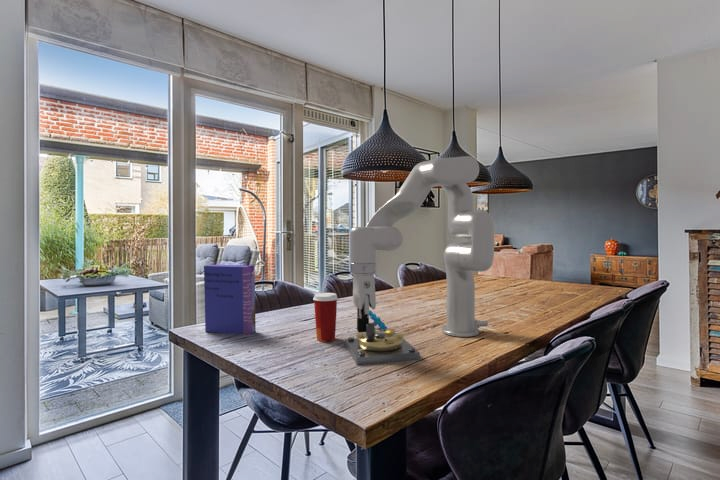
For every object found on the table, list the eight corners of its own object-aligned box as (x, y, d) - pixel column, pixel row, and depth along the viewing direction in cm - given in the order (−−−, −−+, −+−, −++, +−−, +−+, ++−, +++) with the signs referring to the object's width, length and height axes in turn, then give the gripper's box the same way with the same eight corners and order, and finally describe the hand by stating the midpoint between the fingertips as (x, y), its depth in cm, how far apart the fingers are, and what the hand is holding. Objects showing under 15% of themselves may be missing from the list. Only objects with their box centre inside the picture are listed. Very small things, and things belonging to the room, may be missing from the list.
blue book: (255, 331, 142) (254, 264, 141) (248, 335, 137) (247, 266, 136) (213, 328, 147) (212, 264, 146) (205, 331, 142) (203, 265, 141)
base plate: (399, 341, 128) (399, 333, 128) (419, 359, 111) (419, 350, 111) (344, 345, 125) (344, 337, 124) (356, 364, 107) (356, 355, 107)
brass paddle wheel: (373, 335, 127) (373, 313, 127) (410, 342, 120) (410, 318, 119) (349, 346, 116) (349, 321, 116) (387, 354, 109) (387, 328, 108)
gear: (388, 331, 135) (367, 309, 137) (375, 343, 135) (355, 321, 137) (390, 327, 146) (372, 307, 148) (379, 338, 146) (360, 318, 148)
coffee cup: (342, 337, 133) (342, 293, 133) (330, 344, 126) (330, 297, 125) (321, 334, 137) (320, 291, 136) (308, 341, 129) (307, 295, 129)
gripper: (382, 271, 109) (382, 337, 110) (369, 266, 124) (369, 324, 124) (355, 272, 107) (355, 339, 108) (345, 266, 122) (345, 326, 123)
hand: (362, 331), depth 116 cm, fingers closed
